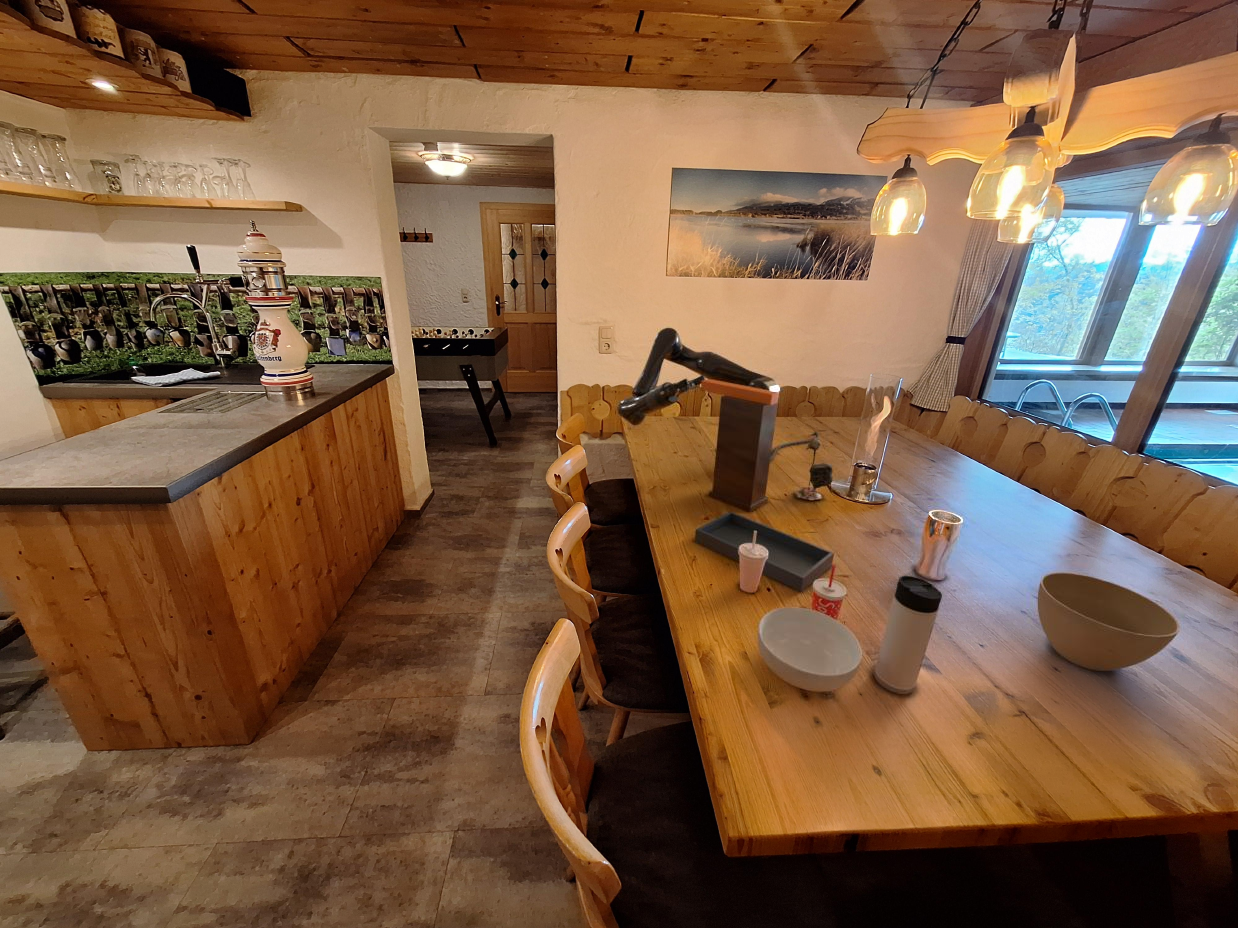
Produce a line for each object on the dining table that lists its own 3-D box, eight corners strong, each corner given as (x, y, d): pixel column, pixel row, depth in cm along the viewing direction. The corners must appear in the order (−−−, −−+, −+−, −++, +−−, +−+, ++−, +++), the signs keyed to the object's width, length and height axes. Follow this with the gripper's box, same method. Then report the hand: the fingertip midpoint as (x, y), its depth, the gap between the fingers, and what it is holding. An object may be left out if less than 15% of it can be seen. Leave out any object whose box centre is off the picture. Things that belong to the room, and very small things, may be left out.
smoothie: (760, 580, 112) (768, 526, 107) (765, 597, 106) (774, 541, 101) (732, 578, 113) (738, 524, 108) (735, 595, 107) (742, 539, 102)
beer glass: (942, 568, 118) (959, 512, 112) (950, 584, 112) (968, 526, 106) (910, 562, 120) (924, 507, 115) (915, 578, 114) (931, 520, 108)
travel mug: (864, 668, 87) (888, 573, 80) (899, 666, 88) (926, 571, 81) (885, 696, 81) (913, 596, 74) (922, 693, 82) (953, 594, 75)
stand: (726, 487, 161) (736, 391, 149) (767, 502, 151) (781, 400, 139) (708, 495, 155) (717, 396, 143) (749, 511, 144) (763, 406, 133)
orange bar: (708, 388, 153) (709, 379, 152) (777, 402, 137) (779, 392, 136) (700, 390, 151) (701, 380, 149) (770, 405, 134) (771, 394, 133)
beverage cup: (799, 623, 98) (810, 563, 93) (815, 611, 102) (827, 553, 97) (828, 639, 94) (841, 578, 89) (844, 626, 98) (857, 566, 93)
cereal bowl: (736, 669, 87) (740, 637, 84) (779, 624, 98) (784, 594, 95) (832, 726, 76) (841, 691, 73) (868, 668, 87) (876, 636, 85)
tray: (729, 522, 138) (730, 511, 137) (831, 565, 118) (834, 552, 117) (694, 541, 128) (695, 529, 127) (800, 591, 108) (803, 578, 107)
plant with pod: (829, 505, 149) (841, 443, 142) (791, 498, 154) (801, 437, 147) (832, 495, 156) (843, 436, 149) (795, 488, 161) (804, 430, 153)
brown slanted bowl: (1117, 706, 80) (1147, 648, 76) (1000, 636, 96) (1019, 584, 91) (1170, 674, 87) (1201, 619, 83) (1053, 613, 102) (1074, 564, 98)
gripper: (643, 389, 161) (677, 371, 149) (671, 383, 170) (706, 366, 158) (651, 411, 161) (685, 394, 149) (678, 404, 170) (713, 387, 158)
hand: (696, 379), depth 153 cm, fingers open, 8 cm apart
